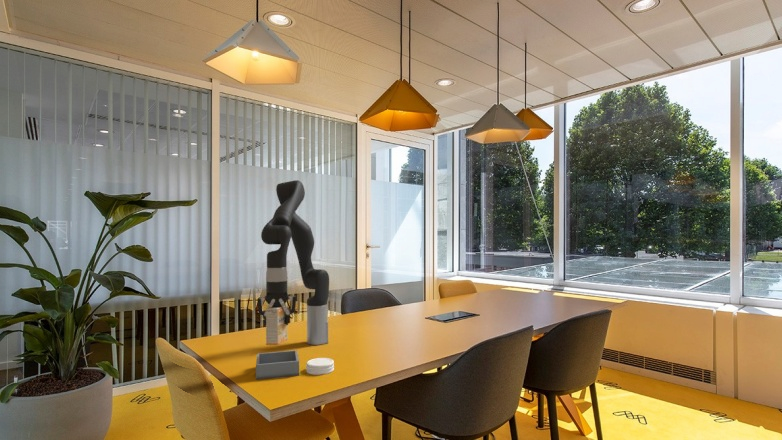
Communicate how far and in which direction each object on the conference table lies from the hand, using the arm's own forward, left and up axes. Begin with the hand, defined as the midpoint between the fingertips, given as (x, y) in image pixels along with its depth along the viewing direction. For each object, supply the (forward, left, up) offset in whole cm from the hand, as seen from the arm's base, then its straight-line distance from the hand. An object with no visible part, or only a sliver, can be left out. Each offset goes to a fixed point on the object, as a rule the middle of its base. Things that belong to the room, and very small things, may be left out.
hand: (277, 325), depth 159 cm
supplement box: (0, 0, -6) cm, 6 cm away
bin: (0, 0, -17) cm, 17 cm away
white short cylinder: (-15, +4, -17) cm, 23 cm away
